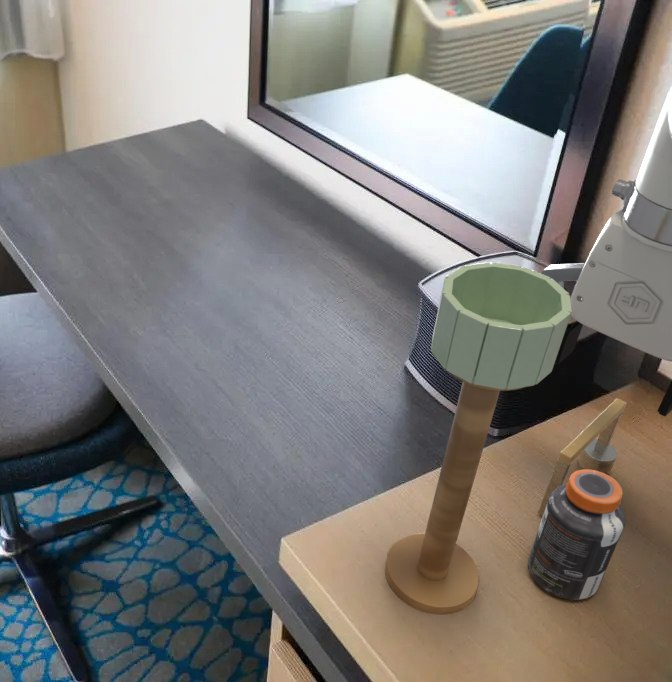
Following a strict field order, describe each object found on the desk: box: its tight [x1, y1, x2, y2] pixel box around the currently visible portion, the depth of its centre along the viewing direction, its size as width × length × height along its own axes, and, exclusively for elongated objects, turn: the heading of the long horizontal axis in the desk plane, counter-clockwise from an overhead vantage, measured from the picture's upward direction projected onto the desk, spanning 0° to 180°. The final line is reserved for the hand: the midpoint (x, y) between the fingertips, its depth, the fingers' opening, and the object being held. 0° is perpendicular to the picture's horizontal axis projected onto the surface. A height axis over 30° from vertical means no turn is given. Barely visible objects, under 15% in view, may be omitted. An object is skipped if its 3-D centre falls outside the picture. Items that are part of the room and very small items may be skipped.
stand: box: [384, 372, 525, 615], centre depth 63 cm, size 8×8×26 cm
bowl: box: [430, 261, 572, 391], centre depth 54 cm, size 8×8×5 cm
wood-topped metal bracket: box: [537, 397, 628, 518], centre depth 76 cm, size 12×3×8 cm, turn 130°
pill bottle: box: [527, 468, 627, 601], centre depth 67 cm, size 6×6×11 cm
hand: (612, 381), depth 71 cm, fingers open, 9 cm apart
